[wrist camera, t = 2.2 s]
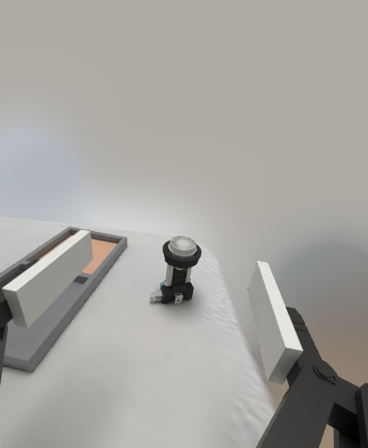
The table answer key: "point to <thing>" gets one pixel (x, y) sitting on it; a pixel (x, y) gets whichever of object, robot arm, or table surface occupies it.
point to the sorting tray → (58, 299)
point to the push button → (178, 270)
